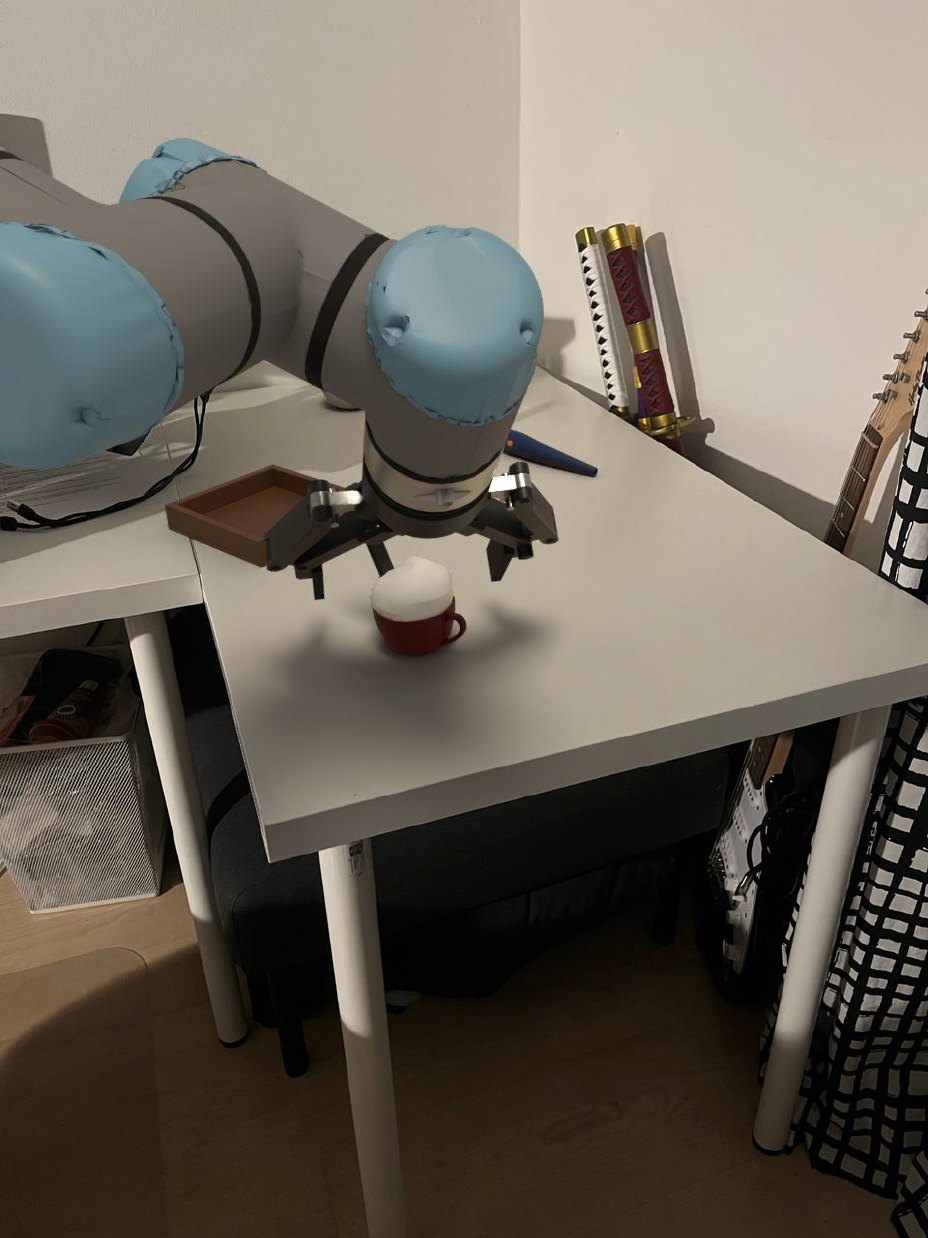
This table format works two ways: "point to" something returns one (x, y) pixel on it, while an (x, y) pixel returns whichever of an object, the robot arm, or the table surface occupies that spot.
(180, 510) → the tray
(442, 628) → the cocoa
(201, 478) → the table surface
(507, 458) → the table surface
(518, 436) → the tapered navy handle
